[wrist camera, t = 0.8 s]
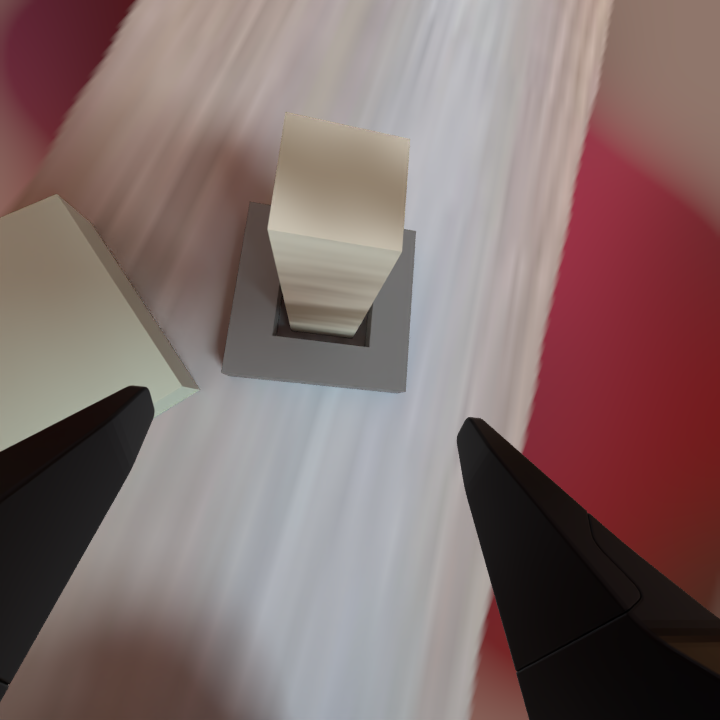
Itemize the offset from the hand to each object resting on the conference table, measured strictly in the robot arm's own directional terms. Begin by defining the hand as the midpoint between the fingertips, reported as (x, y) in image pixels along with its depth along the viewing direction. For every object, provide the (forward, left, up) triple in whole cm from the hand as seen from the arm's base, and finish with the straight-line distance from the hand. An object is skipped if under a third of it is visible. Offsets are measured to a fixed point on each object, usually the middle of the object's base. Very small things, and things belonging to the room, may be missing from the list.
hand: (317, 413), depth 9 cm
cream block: (+6, -5, -13) cm, 16 cm away
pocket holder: (+6, -5, -13) cm, 16 cm away
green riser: (+13, +11, -13) cm, 22 cm away
